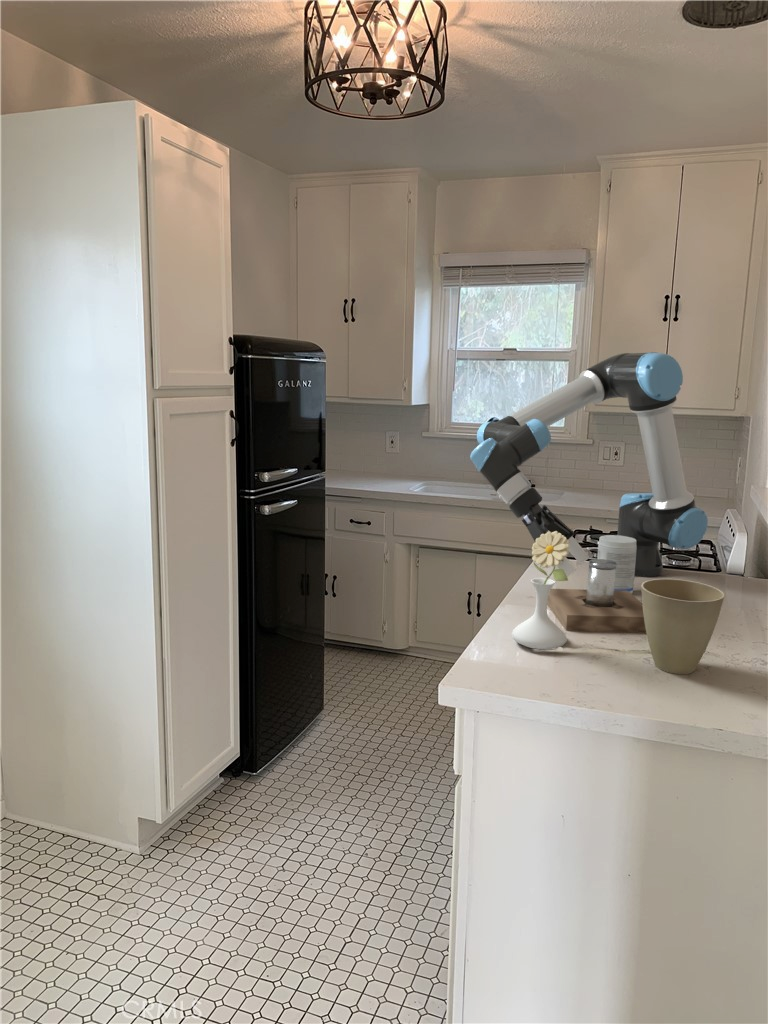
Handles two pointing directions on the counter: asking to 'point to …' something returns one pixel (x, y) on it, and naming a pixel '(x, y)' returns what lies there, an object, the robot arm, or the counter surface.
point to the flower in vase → (544, 595)
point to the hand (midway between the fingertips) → (578, 567)
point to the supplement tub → (620, 559)
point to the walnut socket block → (596, 612)
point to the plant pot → (679, 621)
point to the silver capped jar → (601, 583)
